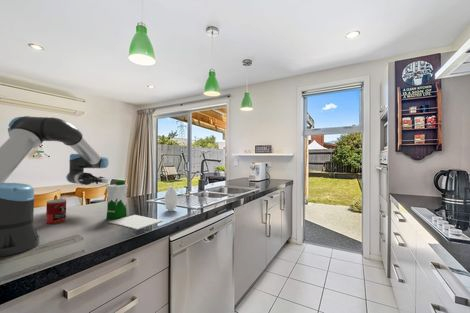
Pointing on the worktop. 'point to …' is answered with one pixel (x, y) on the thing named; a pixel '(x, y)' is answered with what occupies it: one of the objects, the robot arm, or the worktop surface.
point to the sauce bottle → (170, 199)
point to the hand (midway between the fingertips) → (106, 181)
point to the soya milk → (116, 200)
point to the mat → (135, 222)
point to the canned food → (56, 211)
